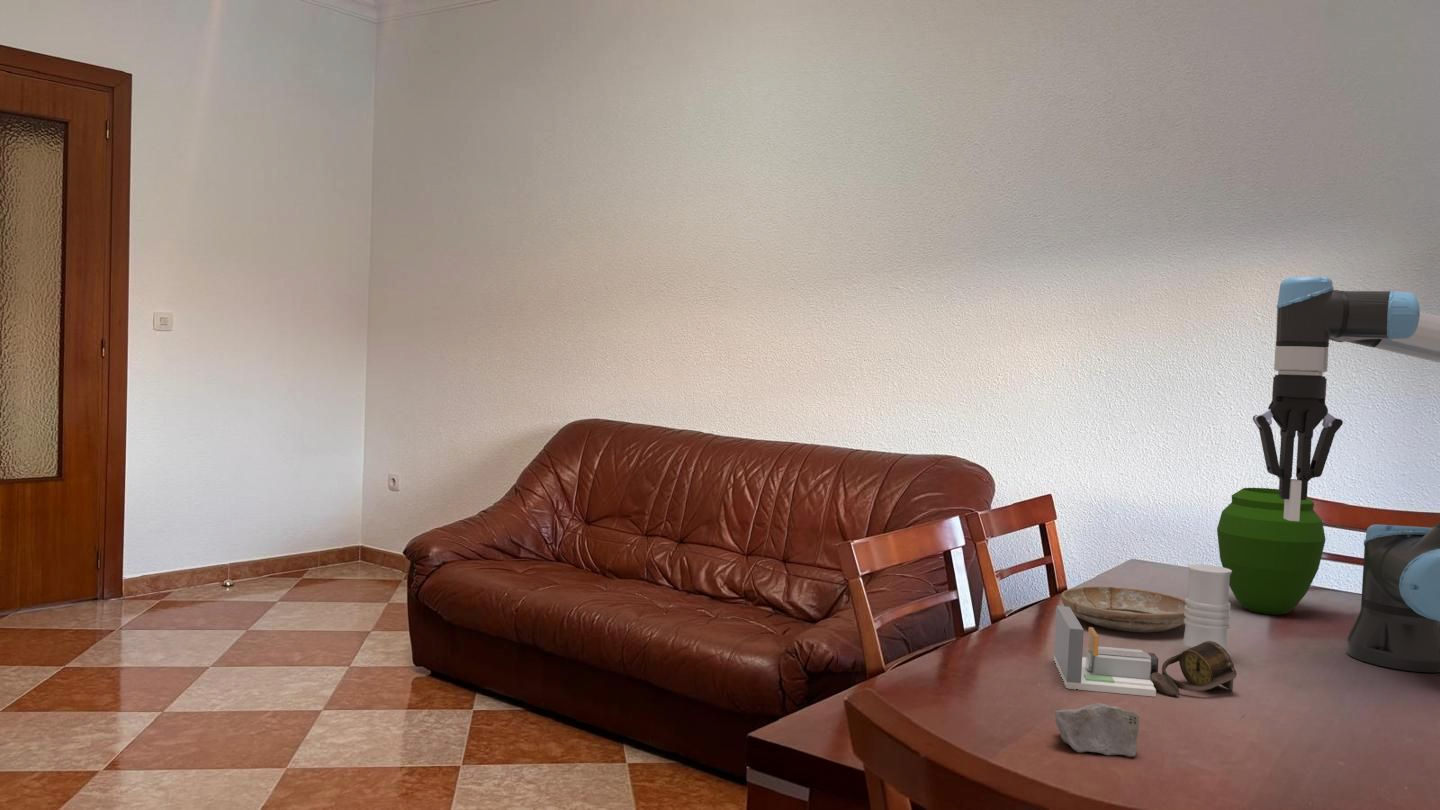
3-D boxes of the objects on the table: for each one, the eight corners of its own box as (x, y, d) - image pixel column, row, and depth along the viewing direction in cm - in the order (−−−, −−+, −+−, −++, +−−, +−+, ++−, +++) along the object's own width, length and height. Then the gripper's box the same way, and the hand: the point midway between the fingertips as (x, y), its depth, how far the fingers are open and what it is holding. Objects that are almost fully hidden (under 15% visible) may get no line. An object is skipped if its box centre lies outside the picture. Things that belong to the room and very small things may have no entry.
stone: (1055, 730, 138) (1059, 686, 137) (1136, 744, 134) (1140, 699, 134) (1051, 750, 130) (1054, 703, 130) (1136, 766, 126) (1140, 718, 126)
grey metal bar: (1153, 671, 161) (1155, 632, 161) (1161, 682, 156) (1163, 641, 155) (1085, 665, 163) (1087, 626, 163) (1091, 676, 158) (1093, 636, 157)
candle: (1234, 664, 172) (1240, 573, 171) (1191, 662, 172) (1196, 571, 172) (1217, 652, 179) (1222, 565, 178) (1175, 650, 179) (1180, 563, 178)
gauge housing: (1135, 667, 168) (1138, 612, 167) (1155, 696, 153) (1159, 635, 153) (1053, 660, 170) (1056, 605, 170) (1066, 688, 155) (1069, 628, 155)
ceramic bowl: (1162, 612, 208) (1164, 587, 208) (1215, 644, 185) (1216, 616, 185) (1045, 607, 209) (1046, 582, 209) (1082, 638, 185) (1084, 610, 185)
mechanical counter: (1256, 666, 152) (1224, 634, 162) (1170, 656, 151) (1143, 623, 161) (1243, 710, 154) (1212, 675, 163) (1158, 700, 153) (1132, 665, 163)
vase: (1323, 609, 216) (1330, 491, 215) (1317, 628, 199) (1326, 500, 198) (1219, 595, 226) (1225, 482, 225) (1205, 611, 210) (1213, 490, 209)
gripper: (1335, 375, 171) (1326, 519, 172) (1249, 372, 173) (1240, 514, 174) (1353, 375, 163) (1344, 525, 164) (1263, 372, 166) (1255, 520, 167)
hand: (1291, 519), depth 169 cm, fingers closed
